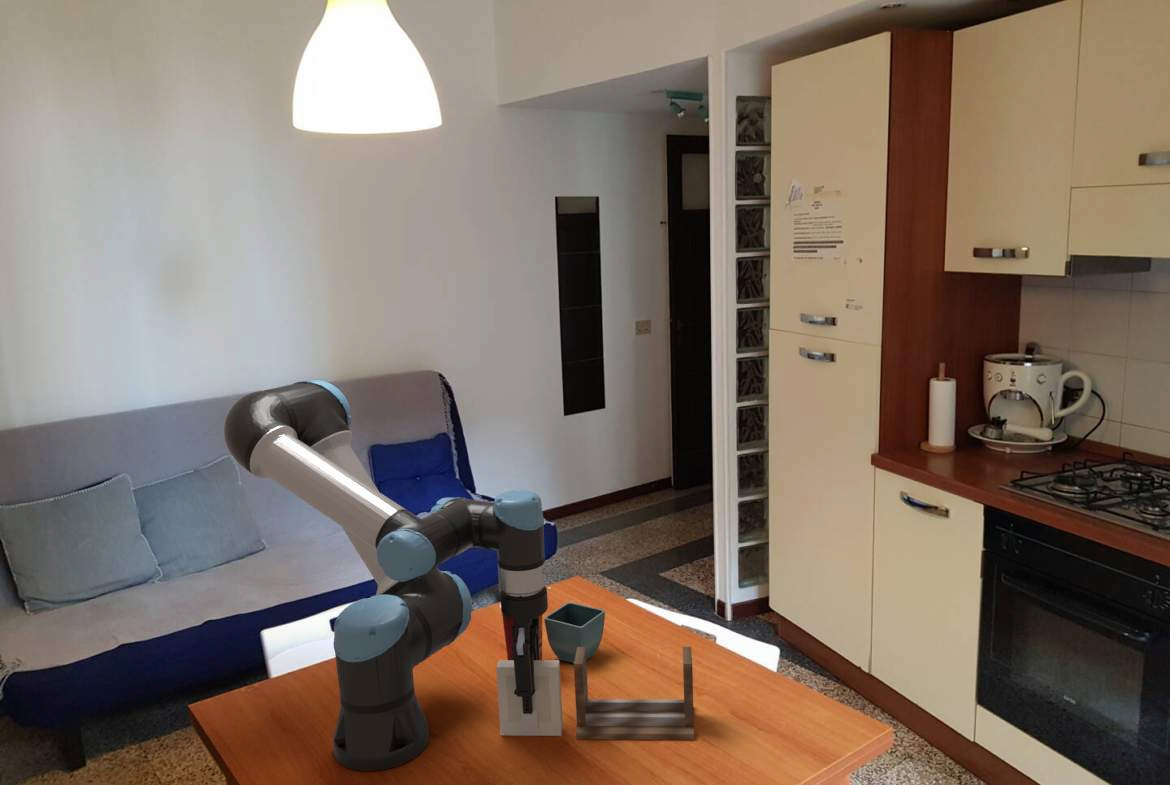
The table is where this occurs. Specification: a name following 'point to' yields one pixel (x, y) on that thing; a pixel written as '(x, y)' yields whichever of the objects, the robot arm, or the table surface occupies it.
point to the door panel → (546, 699)
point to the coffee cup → (509, 639)
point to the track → (633, 710)
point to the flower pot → (574, 630)
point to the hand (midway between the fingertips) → (531, 723)
